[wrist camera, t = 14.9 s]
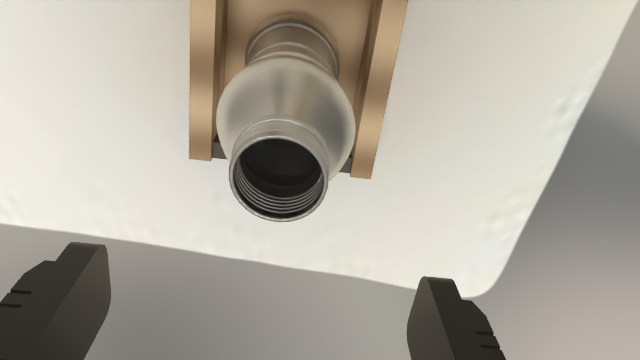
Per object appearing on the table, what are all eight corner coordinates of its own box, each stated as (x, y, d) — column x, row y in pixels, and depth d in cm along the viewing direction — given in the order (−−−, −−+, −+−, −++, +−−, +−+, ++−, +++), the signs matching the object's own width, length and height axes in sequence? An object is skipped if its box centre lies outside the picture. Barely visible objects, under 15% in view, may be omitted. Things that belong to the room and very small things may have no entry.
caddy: (210, -64, 32) (190, -64, 27) (397, -36, 33) (414, -30, 28) (205, 127, 38) (189, 158, 33) (362, 146, 39) (370, 179, 34)
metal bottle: (292, -14, 33) (273, 49, 15) (356, 58, 35) (405, 184, 17) (230, 51, 35) (147, 174, 17) (295, 115, 37) (282, 281, 19)
